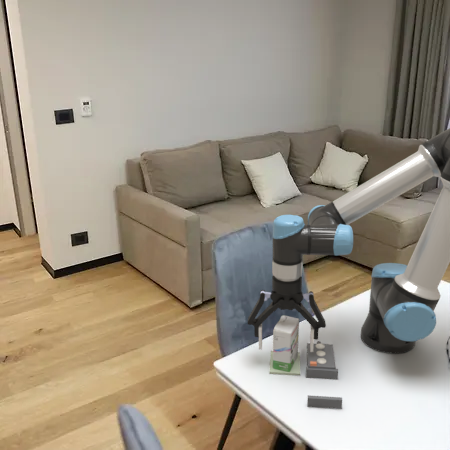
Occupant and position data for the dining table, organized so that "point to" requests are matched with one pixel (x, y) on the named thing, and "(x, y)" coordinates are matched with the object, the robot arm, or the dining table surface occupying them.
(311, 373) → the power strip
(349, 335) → the dining table surface
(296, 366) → the felt pad
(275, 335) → the ink box
